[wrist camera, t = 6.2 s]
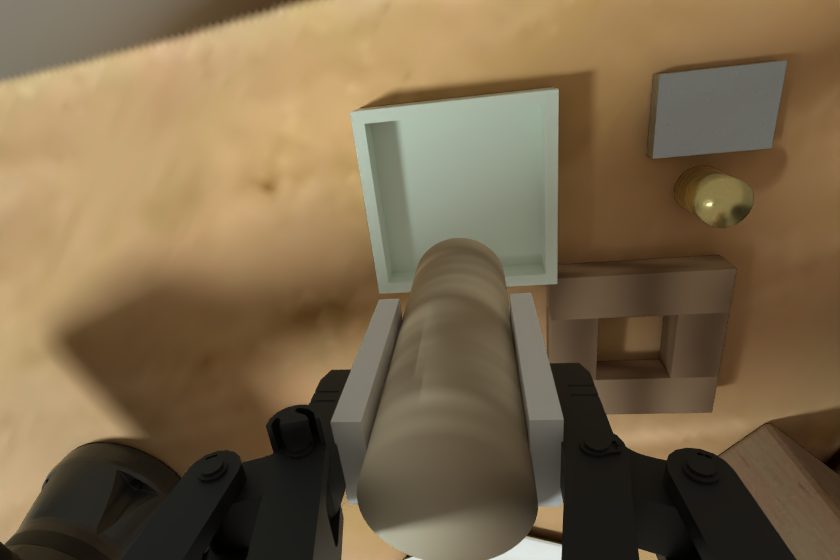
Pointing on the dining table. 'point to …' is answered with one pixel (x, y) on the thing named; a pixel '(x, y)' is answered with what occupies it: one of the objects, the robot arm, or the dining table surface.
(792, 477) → the wooden block
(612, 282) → the socket block
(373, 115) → the tray
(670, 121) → the steel plate
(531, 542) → the plate
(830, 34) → the dining table surface
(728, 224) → the cylinder
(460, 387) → the dowel
